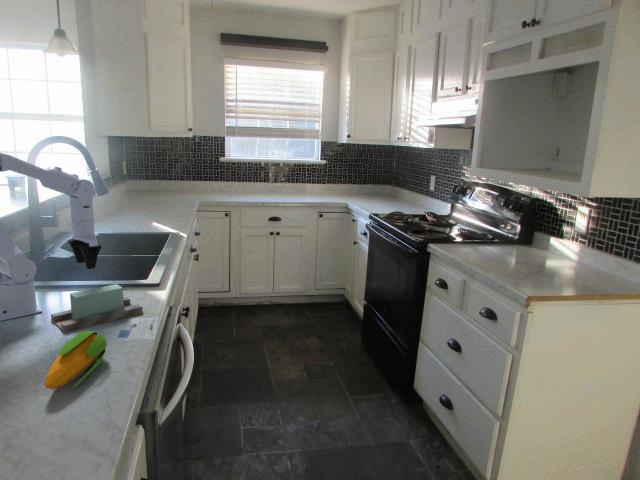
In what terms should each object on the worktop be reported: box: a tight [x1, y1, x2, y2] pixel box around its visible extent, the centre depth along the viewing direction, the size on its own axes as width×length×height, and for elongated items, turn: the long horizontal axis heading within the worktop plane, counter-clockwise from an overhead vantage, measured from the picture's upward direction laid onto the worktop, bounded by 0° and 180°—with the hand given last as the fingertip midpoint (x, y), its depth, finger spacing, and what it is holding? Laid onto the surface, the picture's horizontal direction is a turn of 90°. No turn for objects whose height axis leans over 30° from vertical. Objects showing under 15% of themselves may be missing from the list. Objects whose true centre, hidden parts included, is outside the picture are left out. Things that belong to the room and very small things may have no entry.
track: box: [50, 297, 144, 334], centre depth 124 cm, size 20×10×2 cm, turn 136°
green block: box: [69, 283, 124, 320], centre depth 124 cm, size 12×4×7 cm, turn 136°
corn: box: [44, 330, 108, 390], centre depth 95 cm, size 7×8×20 cm
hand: (86, 265), depth 137 cm, fingers open, 7 cm apart
